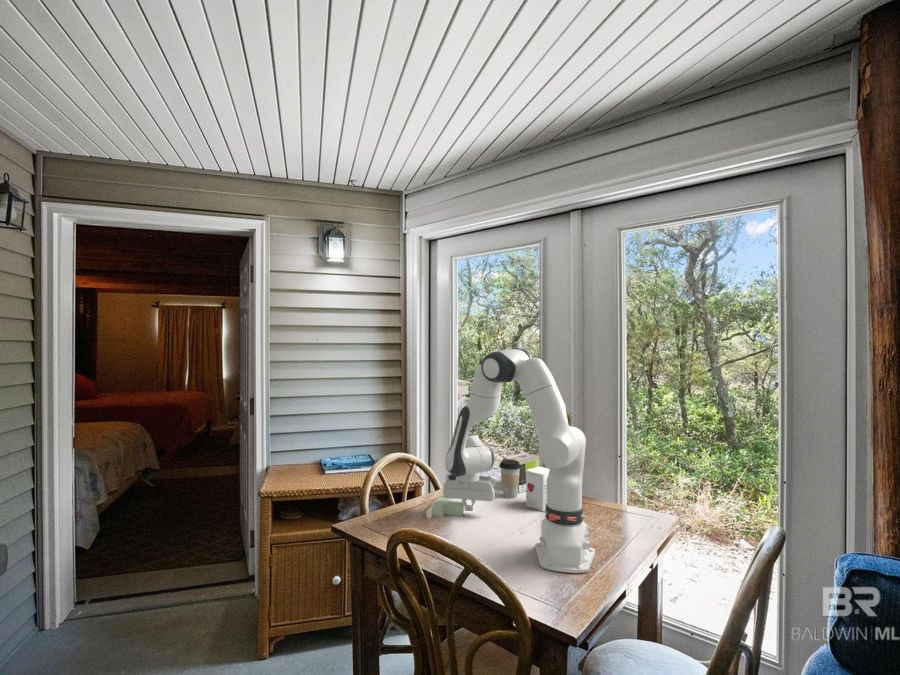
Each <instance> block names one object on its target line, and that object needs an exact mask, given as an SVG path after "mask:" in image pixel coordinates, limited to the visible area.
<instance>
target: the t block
mask: <svg viewBox="0 0 900 675" xmlns="http://www.w3.org/2000/svg"><path fill="white" fill-rule="evenodd" d="M438 498H439V499H438ZM438 498H437V499H438V500H437V499H436V500H437V501H436V500H435V501H436V502H435V501H434V502H435V503H433V504H432V505H431V506H432V517H439V518H441V517H442V516H443V517H444V515H449V516H461V517H462V516H463V514H465V507H464V504H463V503H462V502H457V501H449V499H450V498H445V497H438Z"/></svg>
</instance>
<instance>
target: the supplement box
mask: <svg viewBox="0 0 900 675" xmlns="http://www.w3.org/2000/svg"><path fill="white" fill-rule="evenodd" d="M549 469H550V468H548V467H547V468H546V467H542V466H539V467H536V468H532V469H528V470H526V491H525V492H526V493H525V494H526V496H525V497H526V498H525V502H526V503H525V506H526V507H529V508H531V509H535V510H537V511H540V512H545V508H546V504H547V478H548V474H549Z"/></svg>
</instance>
